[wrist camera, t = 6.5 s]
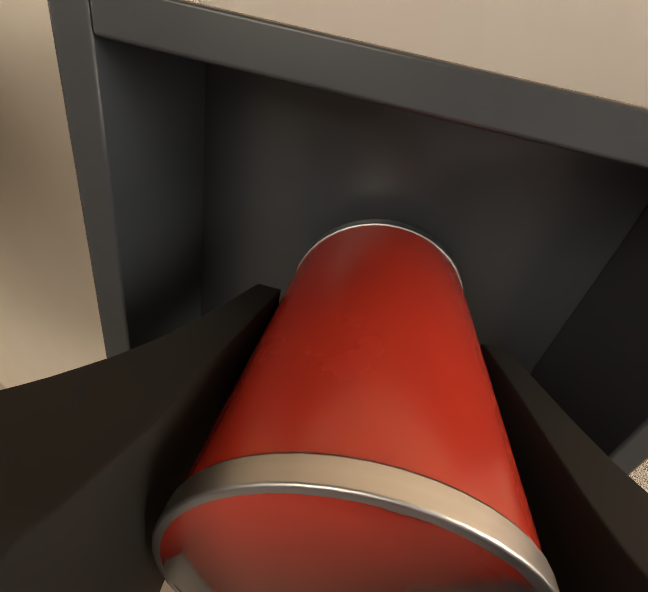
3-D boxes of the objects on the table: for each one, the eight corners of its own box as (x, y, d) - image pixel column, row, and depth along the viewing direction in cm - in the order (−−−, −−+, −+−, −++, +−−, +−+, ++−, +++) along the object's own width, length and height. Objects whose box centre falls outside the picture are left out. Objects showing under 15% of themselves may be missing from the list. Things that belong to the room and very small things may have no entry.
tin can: (493, 245, 10) (690, 588, 3) (427, 379, 13) (458, 714, 6) (308, 198, 10) (134, 425, 4) (283, 340, 13) (158, 619, 6)
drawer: (712, 136, 10) (968, 182, 5) (498, 433, 16) (534, 560, 12) (190, 14, 10) (39, -34, 6) (190, 347, 17) (119, 438, 13)
